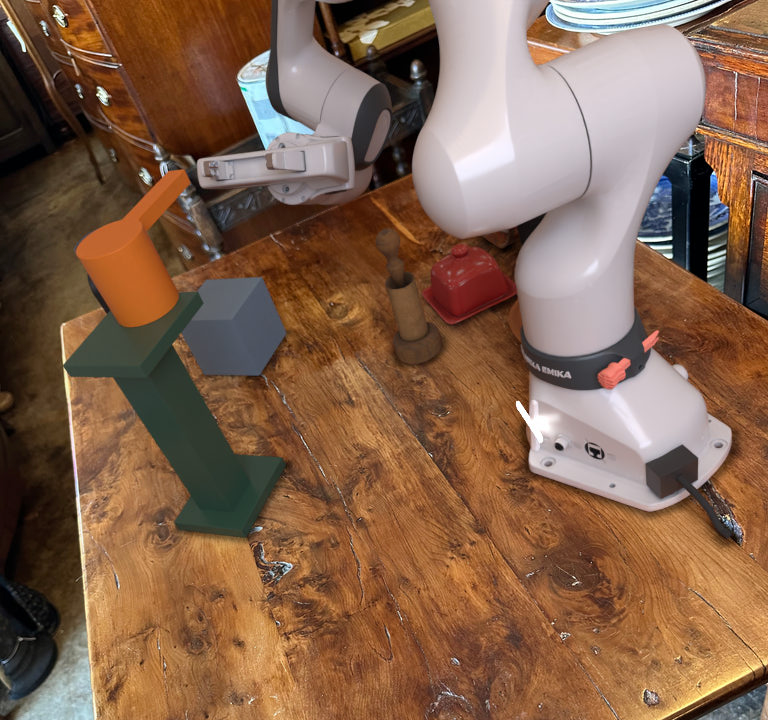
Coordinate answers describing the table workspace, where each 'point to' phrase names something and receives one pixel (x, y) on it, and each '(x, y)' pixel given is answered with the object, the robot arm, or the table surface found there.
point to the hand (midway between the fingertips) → (237, 164)
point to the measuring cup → (134, 258)
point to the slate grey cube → (234, 327)
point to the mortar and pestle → (407, 306)
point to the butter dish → (466, 284)
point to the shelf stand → (180, 419)
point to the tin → (503, 237)
